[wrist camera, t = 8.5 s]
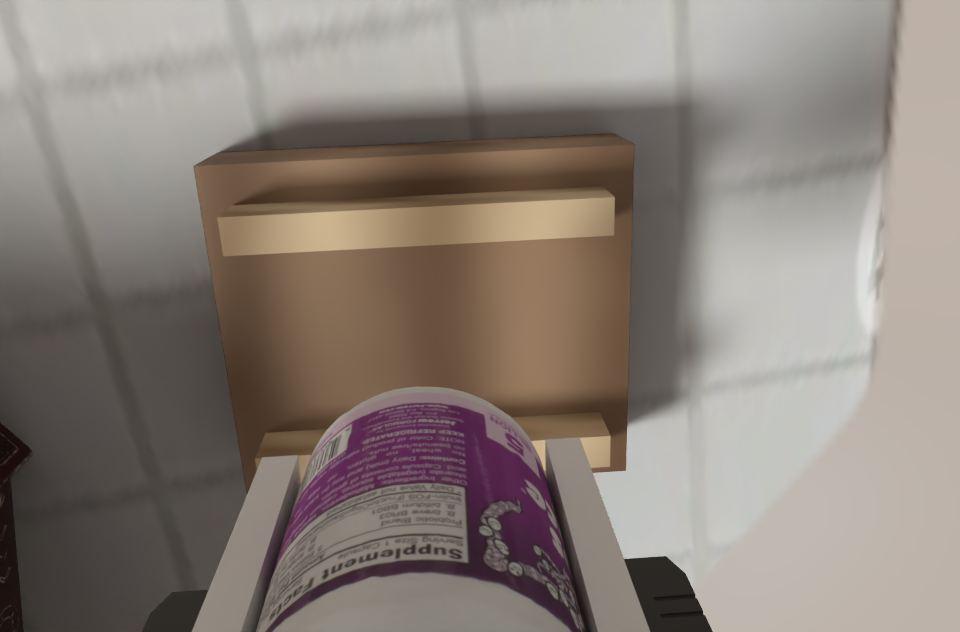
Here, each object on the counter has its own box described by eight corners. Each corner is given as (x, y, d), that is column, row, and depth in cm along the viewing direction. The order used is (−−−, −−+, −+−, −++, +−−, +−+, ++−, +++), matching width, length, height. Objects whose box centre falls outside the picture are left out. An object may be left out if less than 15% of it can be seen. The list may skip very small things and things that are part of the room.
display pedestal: (263, 454, 32) (235, 524, 27) (217, 152, 28) (175, 175, 23) (608, 432, 32) (637, 497, 28) (614, 133, 28) (648, 152, 24)
